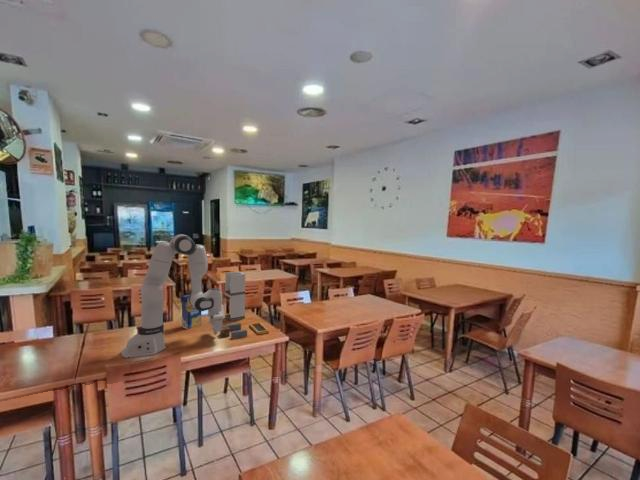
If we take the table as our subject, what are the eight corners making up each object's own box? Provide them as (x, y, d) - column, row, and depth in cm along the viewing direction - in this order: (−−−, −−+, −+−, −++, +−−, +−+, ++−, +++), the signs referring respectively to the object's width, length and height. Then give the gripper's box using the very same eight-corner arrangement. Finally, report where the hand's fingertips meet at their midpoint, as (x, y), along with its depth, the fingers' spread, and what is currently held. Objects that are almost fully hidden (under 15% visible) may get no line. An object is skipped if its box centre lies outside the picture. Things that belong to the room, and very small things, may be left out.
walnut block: (221, 337, 203) (222, 330, 203) (220, 334, 208) (220, 327, 207) (229, 336, 206) (229, 328, 205) (227, 333, 210) (227, 326, 210)
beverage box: (201, 324, 225) (201, 294, 223) (187, 329, 216) (187, 297, 214) (195, 322, 229) (195, 293, 227) (181, 327, 219) (181, 296, 218)
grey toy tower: (238, 314, 250) (239, 271, 247) (244, 318, 241) (245, 273, 239) (225, 317, 242) (225, 273, 240) (230, 321, 234) (231, 275, 232)
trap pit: (257, 335, 209) (257, 332, 209) (249, 326, 224) (249, 323, 224) (269, 333, 213) (269, 330, 213) (259, 324, 228) (259, 322, 228)
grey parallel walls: (231, 338, 201) (232, 332, 201) (225, 330, 215) (225, 325, 214) (247, 336, 206) (247, 330, 206) (240, 328, 220) (240, 322, 220)
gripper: (207, 309, 209) (207, 329, 211) (213, 318, 192) (213, 340, 193) (216, 308, 213) (216, 327, 214) (224, 316, 195) (223, 338, 196)
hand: (215, 333), depth 203 cm, fingers closed
